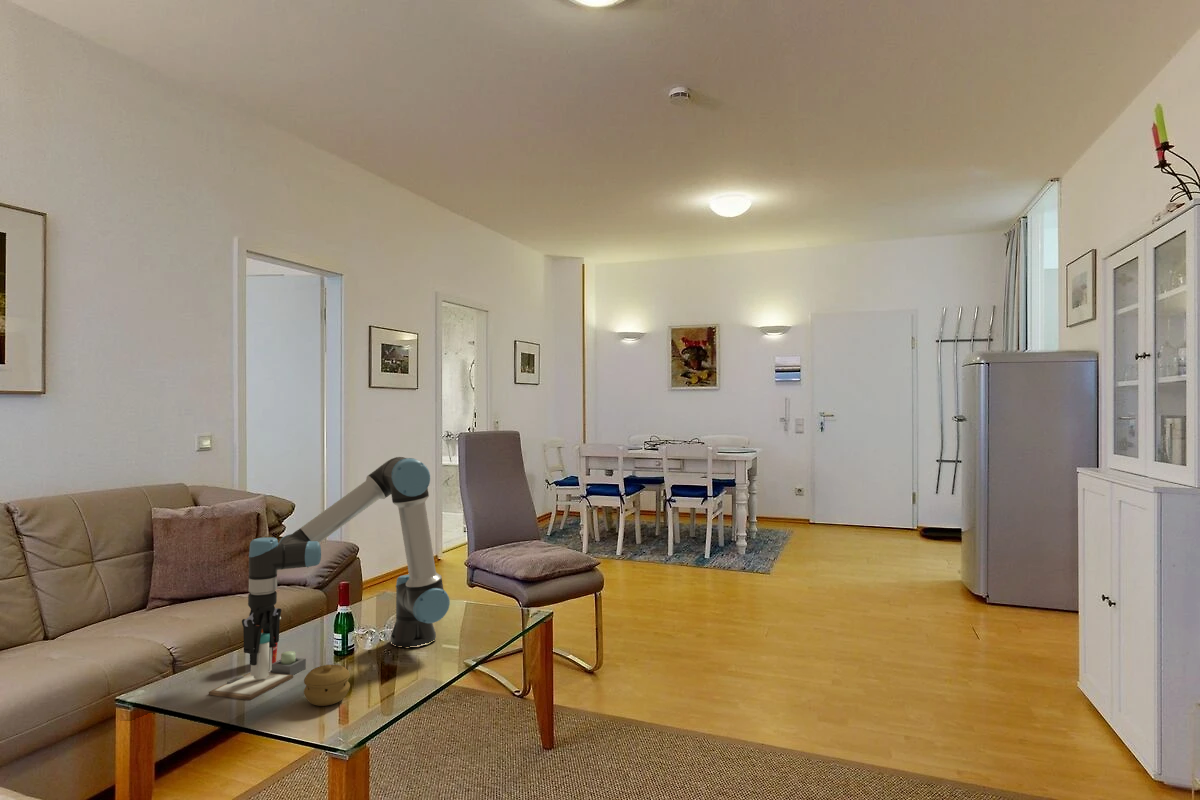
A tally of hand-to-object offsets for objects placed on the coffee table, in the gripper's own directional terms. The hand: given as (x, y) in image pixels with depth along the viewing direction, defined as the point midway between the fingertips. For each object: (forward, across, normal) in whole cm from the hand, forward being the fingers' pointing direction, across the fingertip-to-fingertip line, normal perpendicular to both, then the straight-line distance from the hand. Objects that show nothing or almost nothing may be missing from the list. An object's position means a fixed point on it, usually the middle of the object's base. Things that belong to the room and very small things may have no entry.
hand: (261, 672), depth 203 cm
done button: (+1, -10, +1) cm, 10 cm away
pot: (+3, +6, +27) cm, 28 cm away
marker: (+1, 0, 0) cm, 1 cm away
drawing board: (+3, +2, -1) cm, 4 cm away
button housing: (+3, -10, +1) cm, 11 cm away
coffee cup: (+3, -15, -11) cm, 19 cm away
